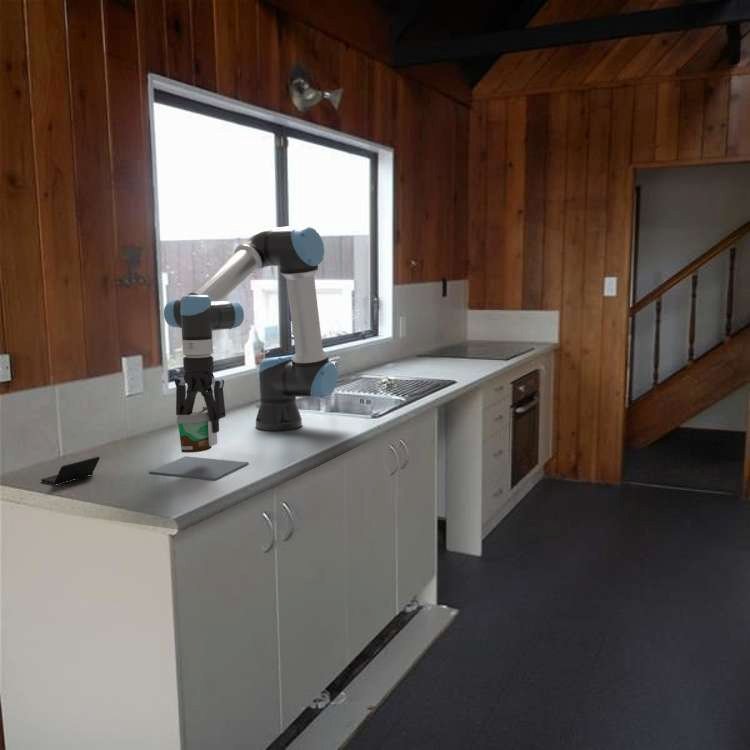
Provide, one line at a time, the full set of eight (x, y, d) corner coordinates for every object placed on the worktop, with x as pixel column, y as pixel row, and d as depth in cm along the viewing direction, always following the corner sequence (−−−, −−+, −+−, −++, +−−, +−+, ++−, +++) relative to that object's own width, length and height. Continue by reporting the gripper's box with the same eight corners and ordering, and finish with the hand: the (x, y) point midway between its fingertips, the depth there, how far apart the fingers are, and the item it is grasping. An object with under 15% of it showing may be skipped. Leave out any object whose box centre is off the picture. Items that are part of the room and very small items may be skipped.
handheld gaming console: (71, 465, 193) (84, 439, 189) (91, 483, 192) (104, 457, 188) (36, 483, 183) (49, 456, 179) (57, 502, 182) (70, 475, 178)
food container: (198, 455, 187) (196, 416, 185) (178, 453, 189) (176, 415, 188) (225, 444, 198) (223, 407, 197) (205, 442, 200) (204, 406, 199)
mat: (185, 458, 206) (185, 456, 206) (248, 464, 199) (248, 462, 199) (148, 473, 191) (148, 471, 191) (215, 480, 184) (215, 478, 184)
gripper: (157, 356, 190) (162, 444, 193) (222, 358, 183) (225, 450, 187) (175, 352, 197) (179, 437, 200) (238, 355, 190) (241, 443, 194)
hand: (202, 443), depth 193 cm, fingers closed on food container, 6 cm apart
